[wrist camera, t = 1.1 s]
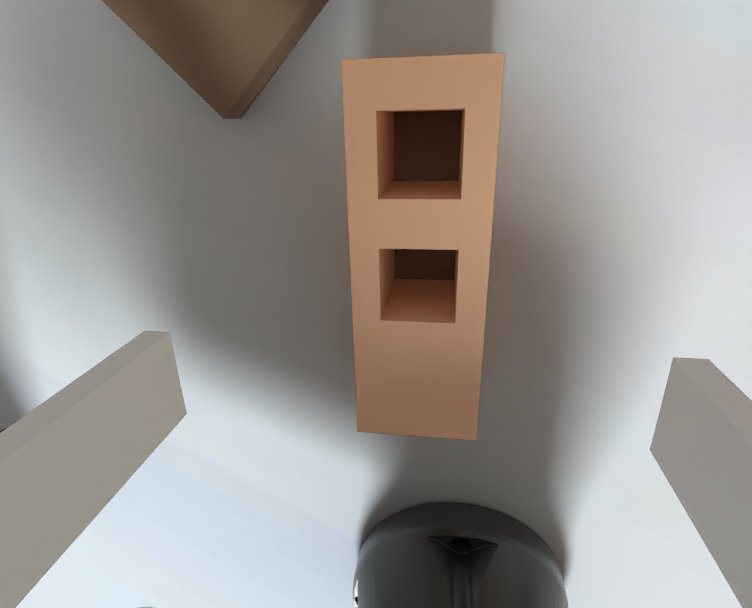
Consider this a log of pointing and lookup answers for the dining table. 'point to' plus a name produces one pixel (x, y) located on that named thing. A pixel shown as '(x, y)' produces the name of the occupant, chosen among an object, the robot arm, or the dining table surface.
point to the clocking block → (419, 243)
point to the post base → (221, 42)
